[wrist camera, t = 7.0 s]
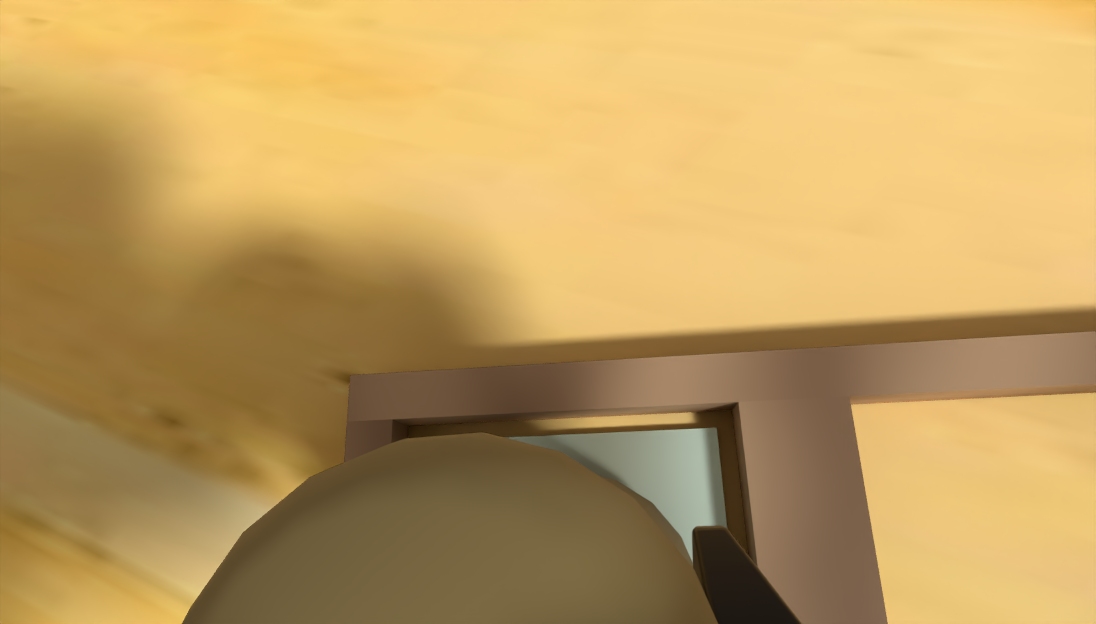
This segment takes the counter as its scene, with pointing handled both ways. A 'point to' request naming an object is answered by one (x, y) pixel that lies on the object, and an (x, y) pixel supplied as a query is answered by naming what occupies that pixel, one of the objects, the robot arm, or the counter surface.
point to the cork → (457, 545)
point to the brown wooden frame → (738, 436)
